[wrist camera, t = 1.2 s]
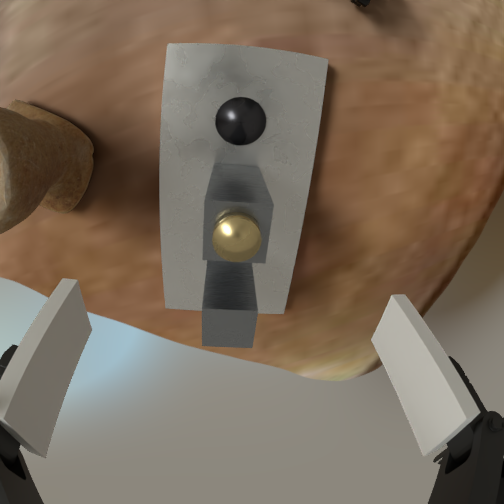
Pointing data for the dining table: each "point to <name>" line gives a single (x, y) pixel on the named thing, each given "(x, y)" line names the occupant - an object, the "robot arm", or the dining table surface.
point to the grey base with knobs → (242, 154)
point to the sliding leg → (236, 215)
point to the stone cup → (40, 163)
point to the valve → (361, 2)
